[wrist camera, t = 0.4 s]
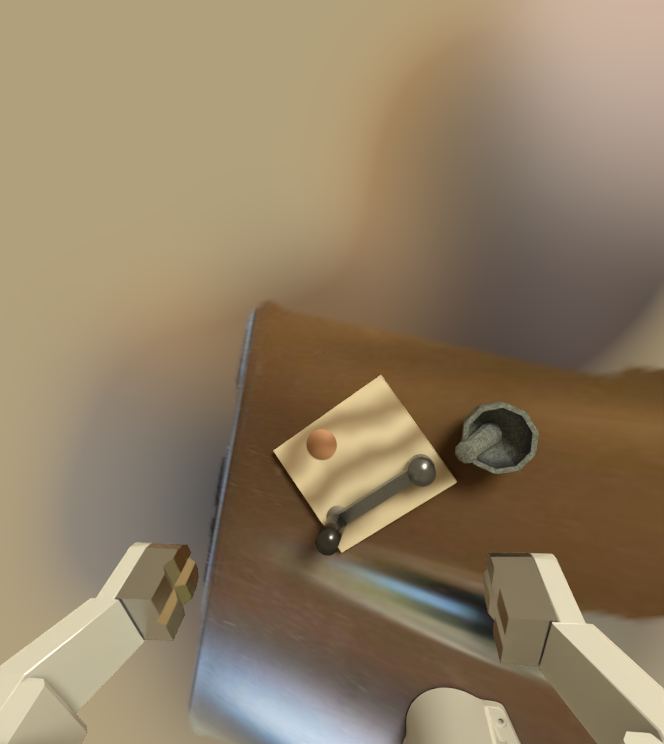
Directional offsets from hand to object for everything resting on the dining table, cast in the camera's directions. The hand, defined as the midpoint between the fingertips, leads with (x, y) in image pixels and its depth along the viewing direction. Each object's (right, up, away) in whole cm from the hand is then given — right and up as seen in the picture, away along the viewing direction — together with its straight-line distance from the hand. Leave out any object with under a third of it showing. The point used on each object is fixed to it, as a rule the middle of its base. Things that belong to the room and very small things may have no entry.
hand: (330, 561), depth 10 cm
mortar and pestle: (+23, -4, +48) cm, 54 cm away
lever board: (+5, -10, +52) cm, 53 cm away
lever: (+7, -14, +49) cm, 52 cm away
